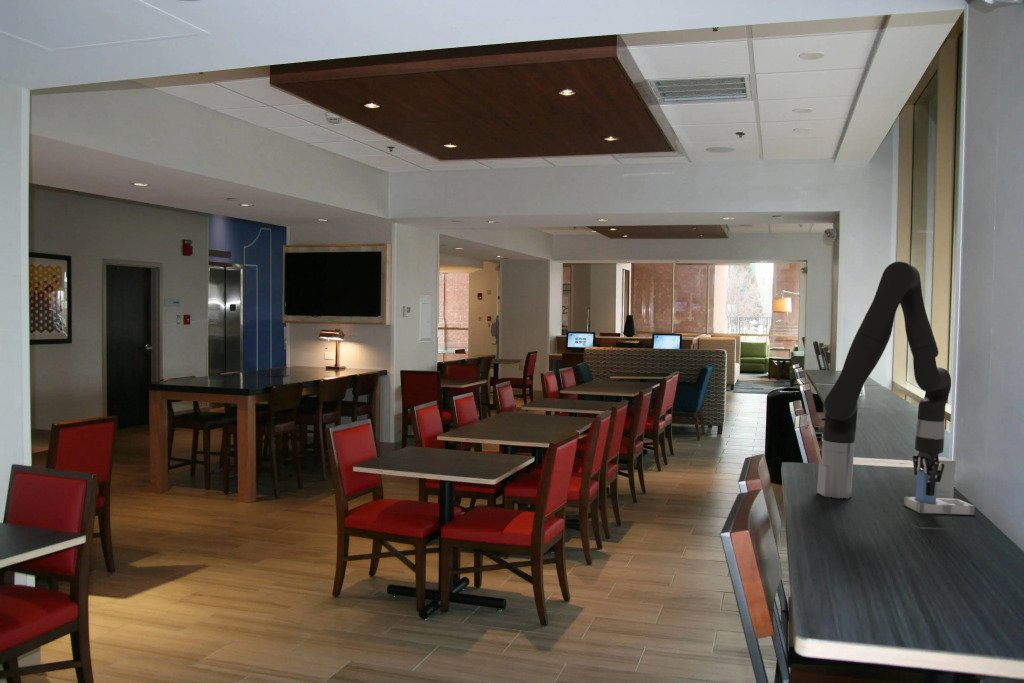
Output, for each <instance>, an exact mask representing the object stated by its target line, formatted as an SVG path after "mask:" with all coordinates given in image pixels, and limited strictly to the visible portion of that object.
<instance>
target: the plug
mask: <svg viewBox="0 0 1024 683" xmlns="http://www.w3.org/2000/svg"><path fill="white" fill-rule="evenodd" d="M929 472H932V471H929ZM937 476H938V475H937ZM930 477H931V475H930ZM926 478H927V475H926V474H925V473H924V469H923V471H918V470H917V475H916V480H915V481H916V484H915V495H914V497H915V500H916V501H918V502H921V503H936V492H937V483H935V492H934V496H928V495H926V483H927V479H926Z"/></svg>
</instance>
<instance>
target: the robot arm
mask: <svg viewBox="0 0 1024 683" xmlns="http://www.w3.org/2000/svg"><path fill="white" fill-rule="evenodd" d="M899 305H900V306H901V310H902V314H903V320H904V330H905V335H906V339H907V343H908V345H909V346H908V347H909V349H910V352H911V355H912V360H913V374H914V379H915V382H916V385H917V386H918V387H919V389H921V390H922V391H923V392H925V394H924V397H923V399H921V400H920V401H919V403H918V411H917V421H916V424H915V436H914V437H915V438H914V441H915V442H914V450H915V451H916V452H918V453H917V455H916V454H914V455H912V463H913V466H912V467H913V474H914V476H917V471H923V469H924V473H925V474H926V475H927V478H926V479H927V483H926V495H928V496H934V492H935V483H937V482H940V481H941V477H942V473H943V470H944V464H941V463H939V458H938V457H939V455H940V454H942V453H943V452H944V449H945V448H944V446H945V431H946V430H945V429H946V428H945V427H946V426H945V420H946V419H945V417H946V406H947V402H948V399H949V395H950V392H951V389H952V388H951V387H952V378H951V374H950V373H949V371H948V370H947V369H946V368H943V367H939V366H937V361H936V358H937V357H938V355H939V348H938V346H937V342H936V339H935V335H934V333H933V329H932V327H931V323H930V321H929V317H928V314H927V311H926V307H925V306H926V305H925V302H924V297H923V289H922V281H921V274H920V271H919V270H918V269H917V268H916V267H915V266H913V265H911V264H910V263H908V262H906V261H903V260H902V261H901V260H900V261H899V260H898V261H894V262H892V263H890V264H889V265H888V266H886V267H885V268H884V270H883V272H882V275H881V277H880V280H879V283H878V286H877V289H876V292H875V294H874V298H873V299H872V302H871V304H870V306H869V308H868V309H867V311H866V314H865V315H864V316H863V317H864V318H863V320H862V321H861V324H860V326H859V328H858V329H857V331H856V334H855V335H854V337H853V340H852V342H851V344H850V346H849V349H848V352H847V355H846V357H845V360H844V364H843V366H842V370H841V371H840V374H839V376H838V378H837V379H836V381H835V383H834V384H833V386H832V388H831V389H830V391H829V392H828V394H827V395H826V397H825V399H824V400H823V408H824V411H825V412H824V413H825V415H824V425H823V431H822V432H823V433H822V446H821V462H818V468H817V469H818V473H817V486H816V489H817V490H816V493H817V494H819V495H821V496H822V497H824V498H831V497H832V499H833V498H834V499H840V498H842V499H843V498H846V499H850V497H851V498H852V490H853V471H854V454H855V439H856V433H857V419H858V407H859V406H858V401H859V398H860V394H861V393H862V390H863V387H864V385H865V383H866V381H867V379H868V378H869V377H870V375H871V374H872V372H873V370H874V369H875V367H876V366H877V364H878V362H880V360H881V358H882V356H883V354H884V352H885V350H886V347H887V345H888V343H889V341H890V338H891V336H892V331H893V326H894V321H895V317H896V313H897V310H898V307H899ZM929 471H932V472H929ZM930 475H931V477H930ZM937 475H938V476H937ZM842 499H841V500H842Z"/></svg>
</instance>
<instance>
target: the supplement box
mask: <svg viewBox="0 0 1024 683" xmlns="http://www.w3.org/2000/svg"><path fill="white" fill-rule="evenodd" d="M938 458H939V463H941V464H944V470H943V473H942V477H941V481H940V482H937V492H936V498H954V494H955V492H954V489H955V475H956V463H957V462H956V460H953V459H951V458H948V457H945V456H938Z"/></svg>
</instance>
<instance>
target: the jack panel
mask: <svg viewBox="0 0 1024 683" xmlns="http://www.w3.org/2000/svg"><path fill="white" fill-rule="evenodd" d="M903 500H904V501H903V505H904V506H905V507H906V508H909V509H911V510H913V511H915V512H917V513H919V514H941V515H943V514H945V515H967V516H968V515H971V516H974V515H975V505H973V504H971V503H969V502H966V501H964V500H961V499H959V498H954V497H953V498H936V503H921V502H918V501H916V500H915V496H904V498H903Z"/></svg>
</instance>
